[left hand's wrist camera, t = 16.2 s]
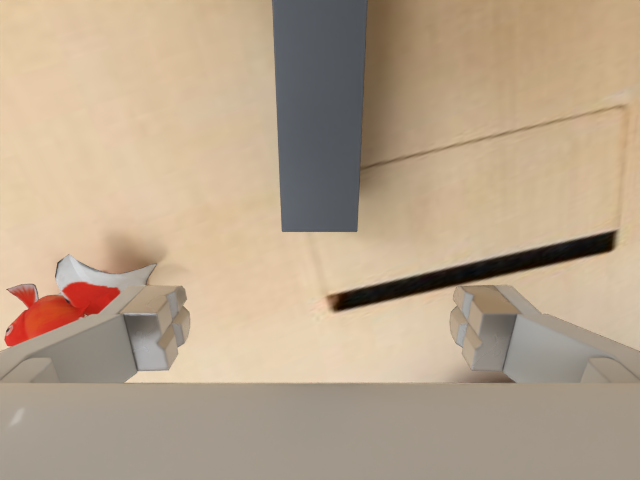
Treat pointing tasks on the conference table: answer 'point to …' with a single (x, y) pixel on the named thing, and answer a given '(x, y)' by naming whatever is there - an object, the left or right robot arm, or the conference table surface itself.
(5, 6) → the conference table surface
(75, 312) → the fish
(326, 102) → the box
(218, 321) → the conference table surface
